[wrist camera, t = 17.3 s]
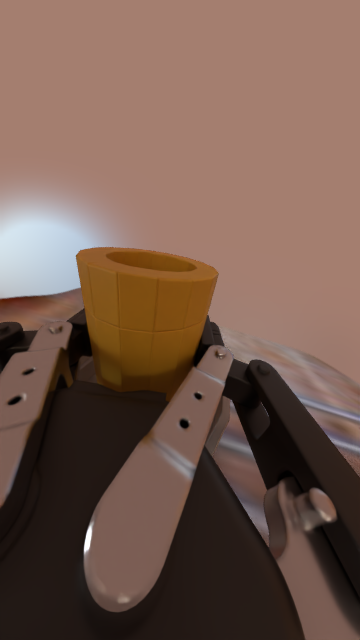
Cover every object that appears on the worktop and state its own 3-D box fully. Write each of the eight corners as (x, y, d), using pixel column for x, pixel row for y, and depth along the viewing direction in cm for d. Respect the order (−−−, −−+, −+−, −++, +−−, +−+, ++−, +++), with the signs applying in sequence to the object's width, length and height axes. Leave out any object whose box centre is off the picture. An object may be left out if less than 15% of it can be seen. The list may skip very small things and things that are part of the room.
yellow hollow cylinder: (102, 461, 9) (58, 273, 4) (104, 378, 14) (86, 242, 8) (192, 427, 11) (247, 282, 6) (167, 366, 16) (186, 254, 11)
